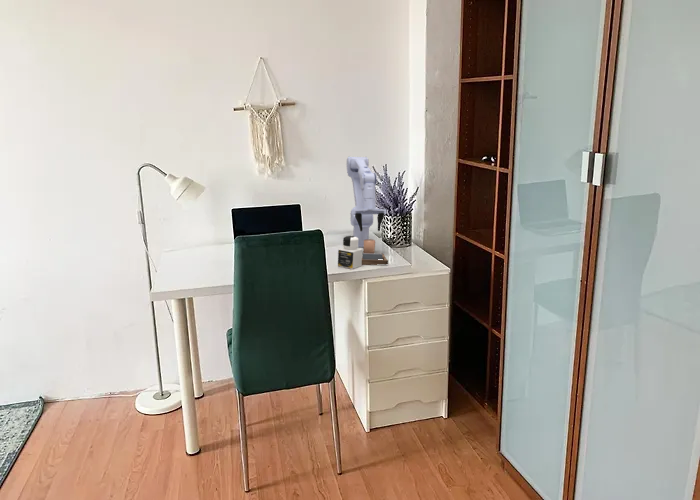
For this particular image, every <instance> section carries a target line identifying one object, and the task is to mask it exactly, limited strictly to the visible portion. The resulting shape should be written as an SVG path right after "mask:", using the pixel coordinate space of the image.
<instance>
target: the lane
mask: <svg viewBox="0 0 700 500" xmlns="http://www.w3.org/2000/svg"><path fill="white" fill-rule="evenodd" d="M380 254H382V259H383V260H366V259H363V258H362V265H361V266H378V265H377V264H388V265H389V260H388V259H387V257H386V255H385V254H384V253H383V252H381V253H380Z"/></svg>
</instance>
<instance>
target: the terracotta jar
mask: <svg viewBox="0 0 700 500" xmlns="http://www.w3.org/2000/svg"><path fill="white" fill-rule="evenodd" d="M362 253H371V254H374V253H375V254H376V240H375V239H372V238H369V239H365V240H364V247H362Z"/></svg>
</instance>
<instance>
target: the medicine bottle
mask: <svg viewBox="0 0 700 500" xmlns="http://www.w3.org/2000/svg"><path fill="white" fill-rule="evenodd" d="M342 239H343V240H342V247H341V248H338V252H337V266H338V267H341V268H346V269H351V270H353V269H357V268H358V267H361V266H363V265H362V253H363V248H362V247H358V238H357V237H355V236H353V235H346V236H344V237H343V238H342Z"/></svg>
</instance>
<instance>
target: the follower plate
mask: <svg viewBox="0 0 700 500" xmlns="http://www.w3.org/2000/svg"><path fill="white" fill-rule="evenodd" d="M362 258H363V259H366V260H378V259H382V254H381V253H375V254H371V253H363V252H362Z"/></svg>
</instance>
